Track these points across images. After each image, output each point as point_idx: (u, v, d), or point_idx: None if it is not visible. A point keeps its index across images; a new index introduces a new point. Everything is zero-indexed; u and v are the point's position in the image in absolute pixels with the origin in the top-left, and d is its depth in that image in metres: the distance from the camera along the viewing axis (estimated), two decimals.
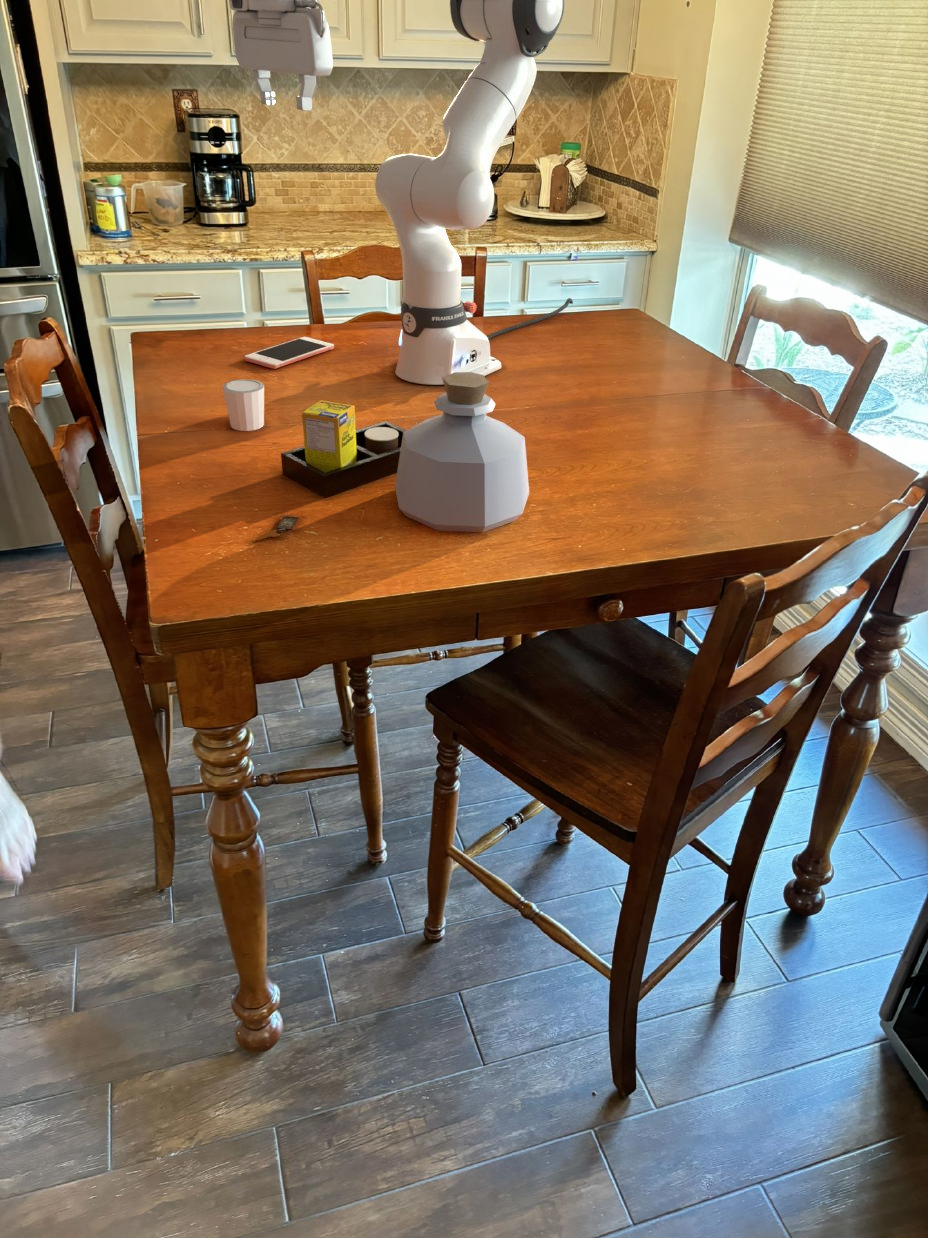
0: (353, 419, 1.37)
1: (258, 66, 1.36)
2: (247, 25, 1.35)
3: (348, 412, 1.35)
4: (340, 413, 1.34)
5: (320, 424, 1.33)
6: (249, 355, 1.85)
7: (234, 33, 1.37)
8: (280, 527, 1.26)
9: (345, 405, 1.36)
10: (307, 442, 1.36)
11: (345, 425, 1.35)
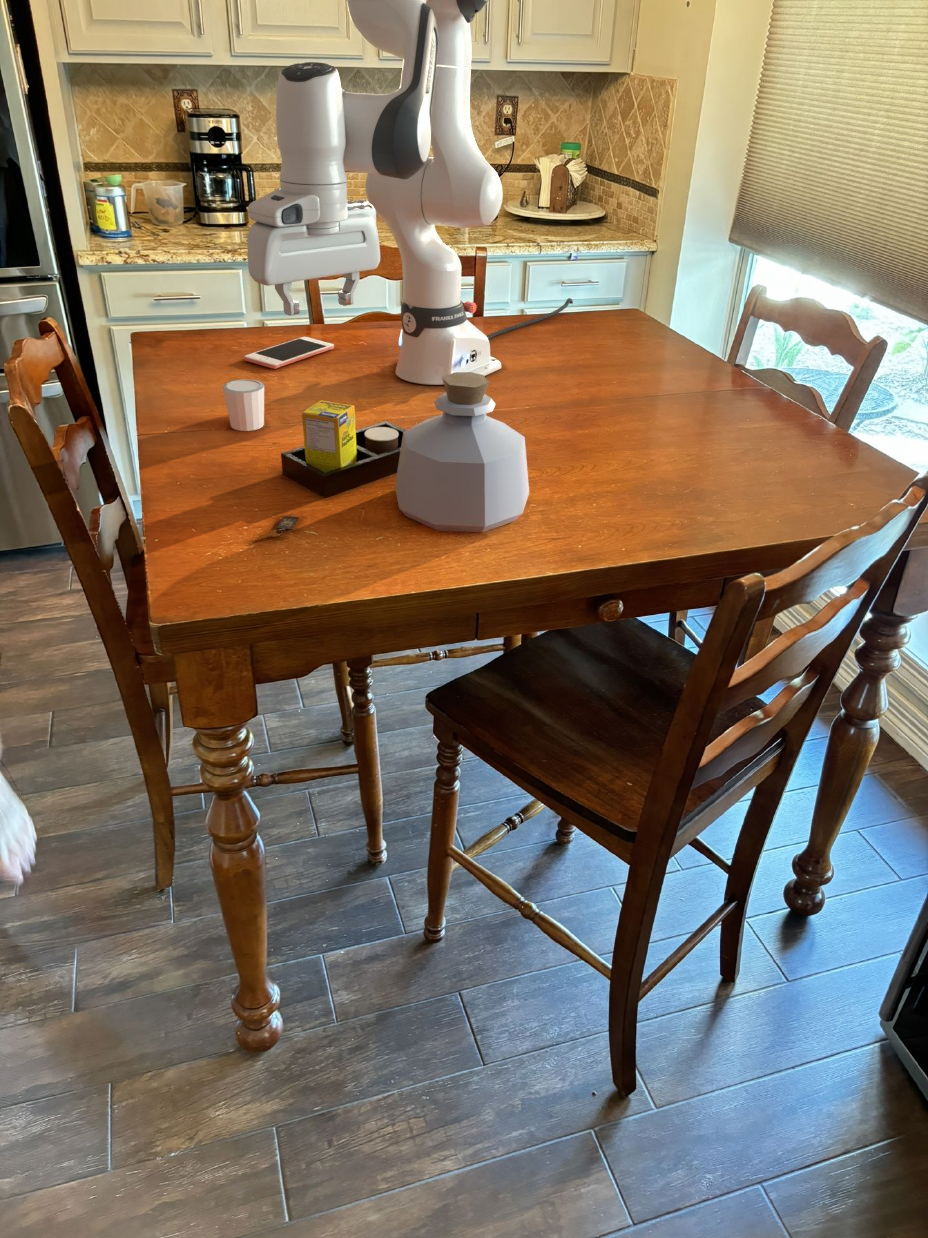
0: (353, 419, 1.37)
1: (301, 277, 1.24)
2: (286, 239, 1.20)
3: (348, 412, 1.35)
4: (340, 413, 1.34)
5: (320, 424, 1.33)
6: (249, 355, 1.85)
7: (270, 251, 1.18)
8: (280, 527, 1.26)
9: (345, 405, 1.36)
10: (307, 442, 1.36)
11: (345, 425, 1.35)
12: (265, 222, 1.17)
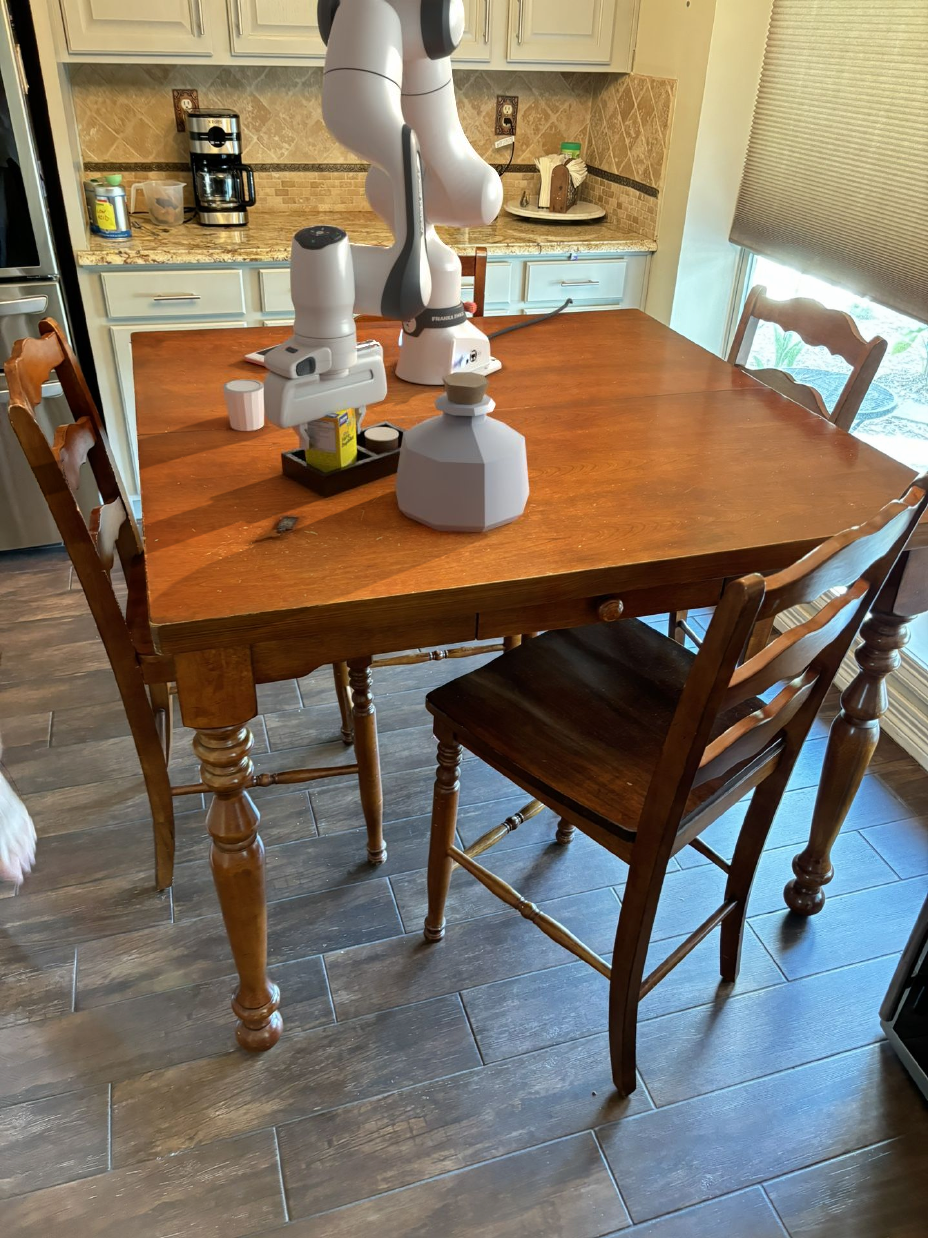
0: (353, 419, 1.37)
1: (314, 418, 1.32)
2: (300, 387, 1.28)
3: (349, 413, 1.35)
4: (340, 413, 1.34)
5: (320, 424, 1.33)
6: (249, 355, 1.85)
7: (285, 400, 1.26)
8: (280, 527, 1.26)
9: None
10: None
11: (345, 425, 1.35)
12: (280, 374, 1.25)
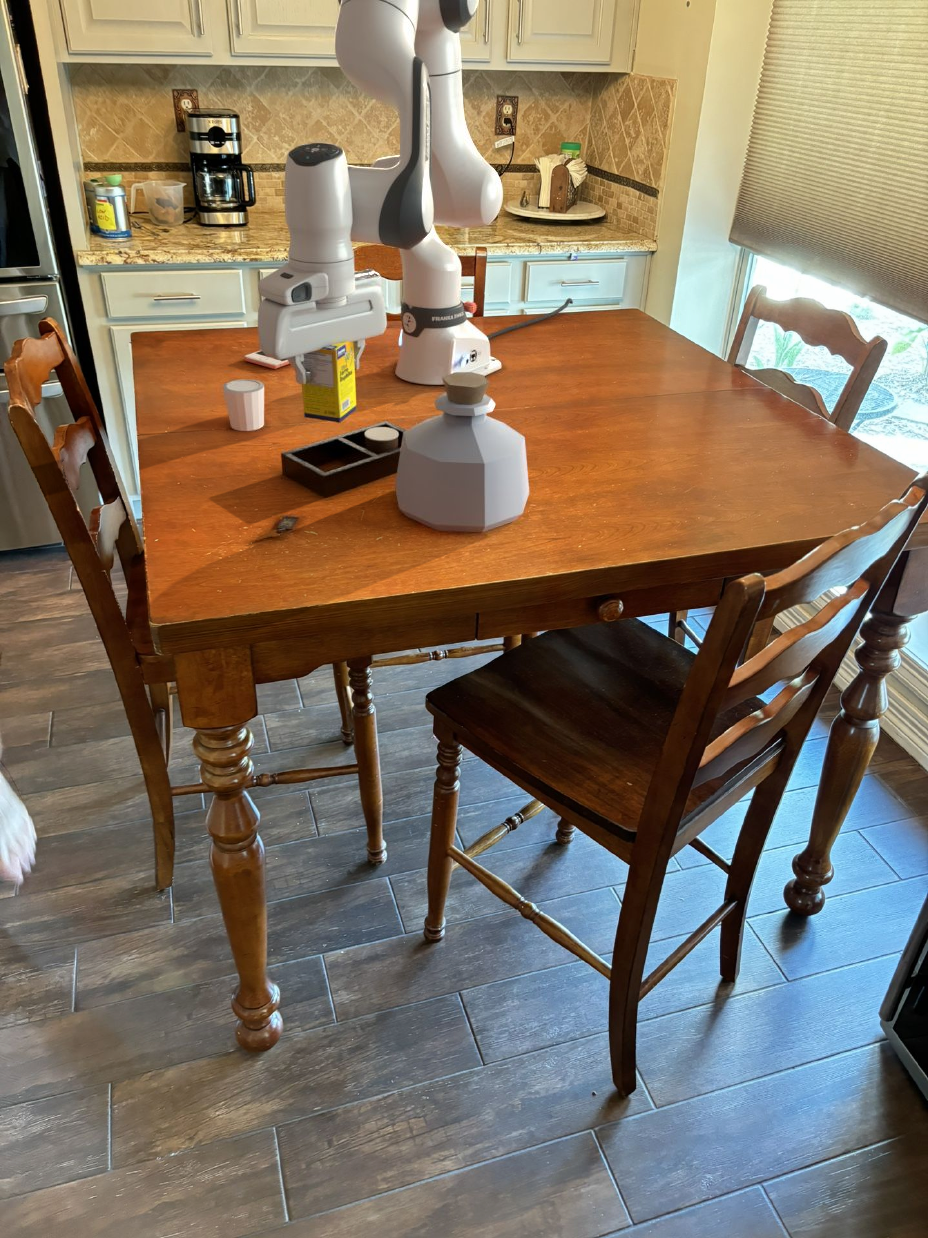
0: (352, 353, 1.32)
1: (311, 349, 1.26)
2: (296, 315, 1.22)
3: (347, 345, 1.30)
4: (338, 345, 1.28)
5: (317, 357, 1.28)
6: (249, 355, 1.85)
7: (280, 328, 1.21)
8: (280, 527, 1.26)
9: None
10: None
11: (343, 358, 1.30)
12: (275, 300, 1.20)
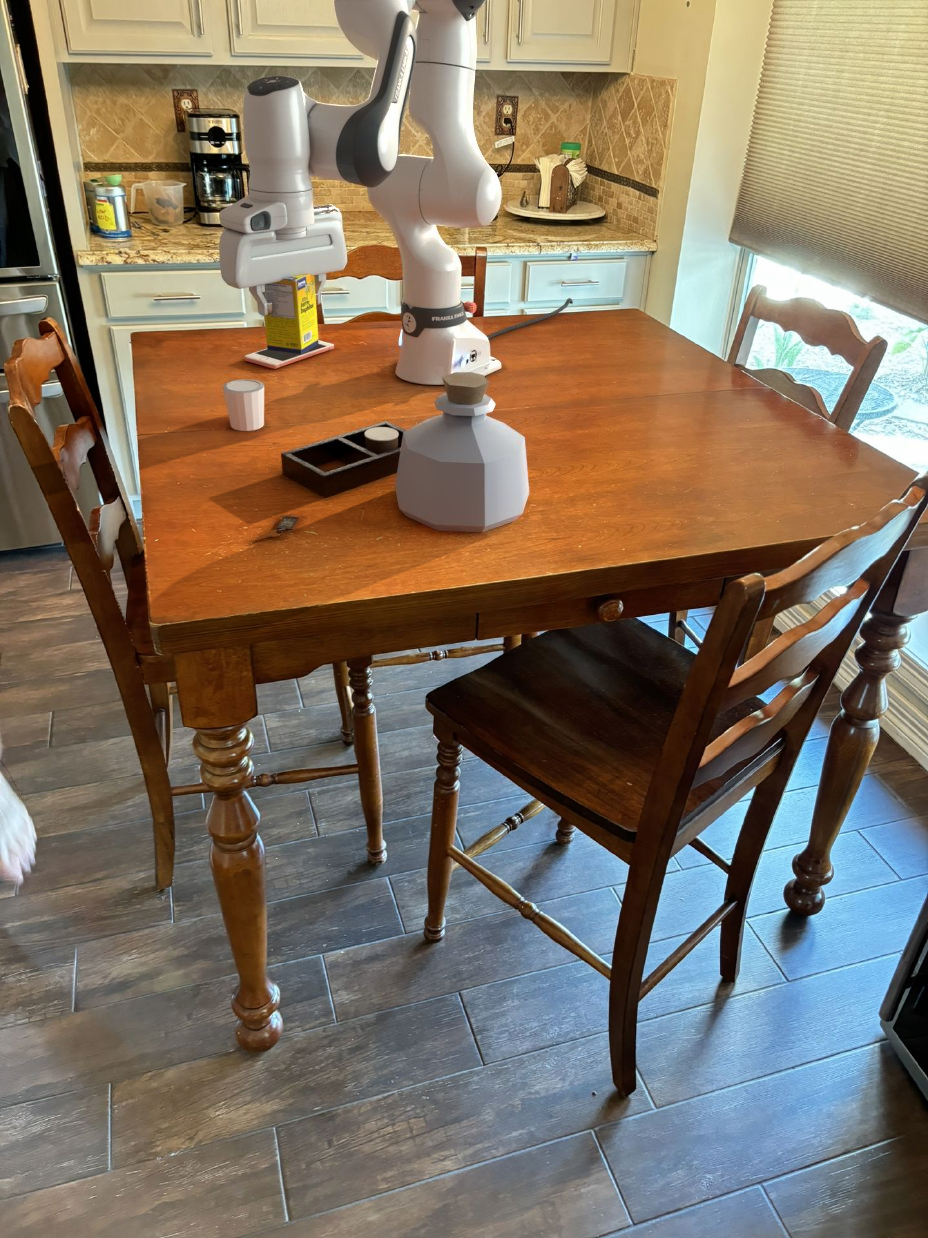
0: (313, 286, 1.36)
1: (271, 280, 1.31)
2: (256, 244, 1.26)
3: (307, 278, 1.34)
4: (298, 277, 1.32)
5: (278, 288, 1.32)
6: (249, 355, 1.85)
7: (240, 256, 1.25)
8: (280, 527, 1.26)
9: None
10: None
11: (304, 290, 1.34)
12: (235, 229, 1.24)
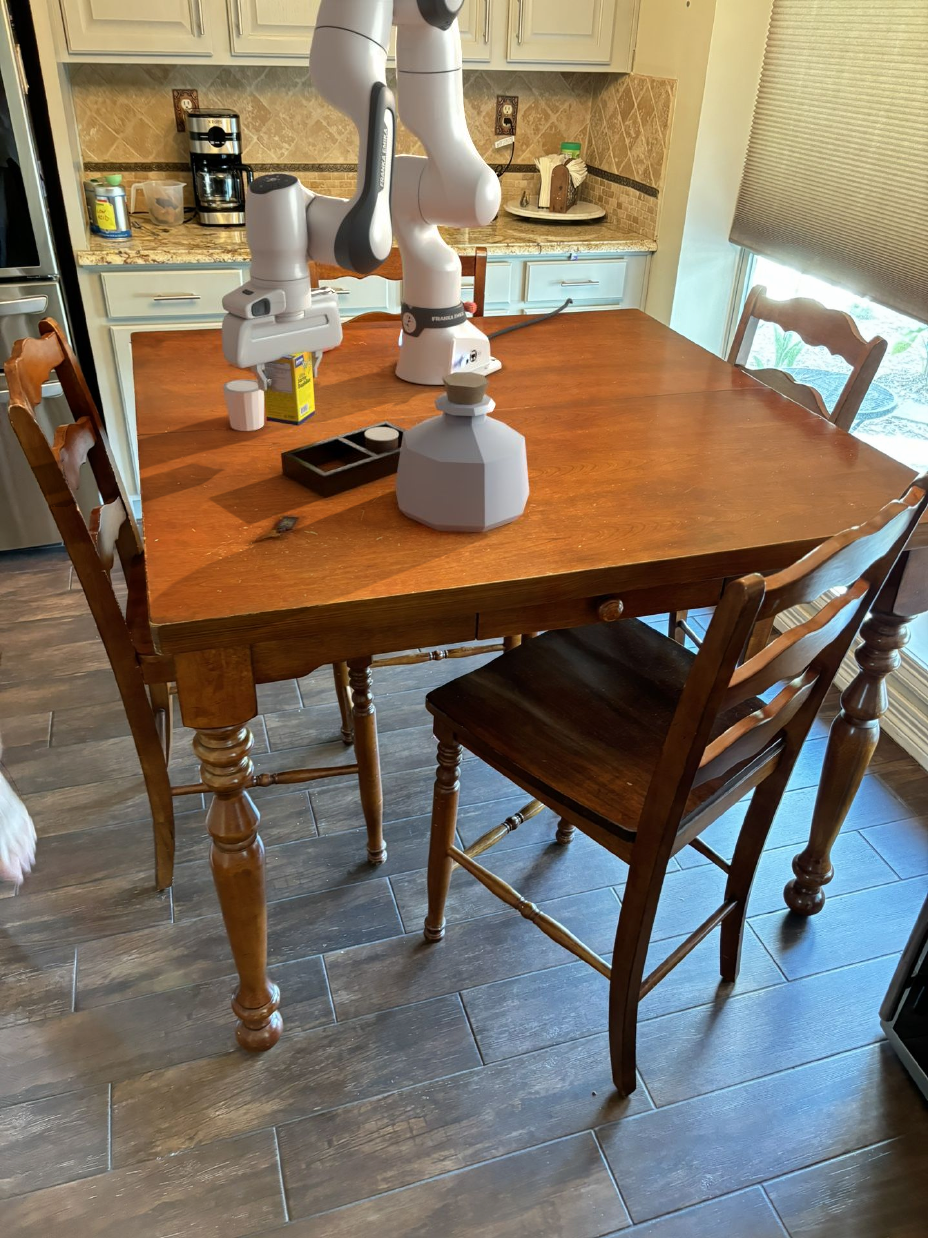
0: (310, 362, 1.44)
1: (271, 359, 1.39)
2: (256, 328, 1.35)
3: (305, 355, 1.42)
4: (296, 355, 1.41)
5: (277, 365, 1.41)
6: None
7: (242, 339, 1.33)
8: (280, 527, 1.26)
9: None
10: None
11: (301, 367, 1.42)
12: (237, 314, 1.32)
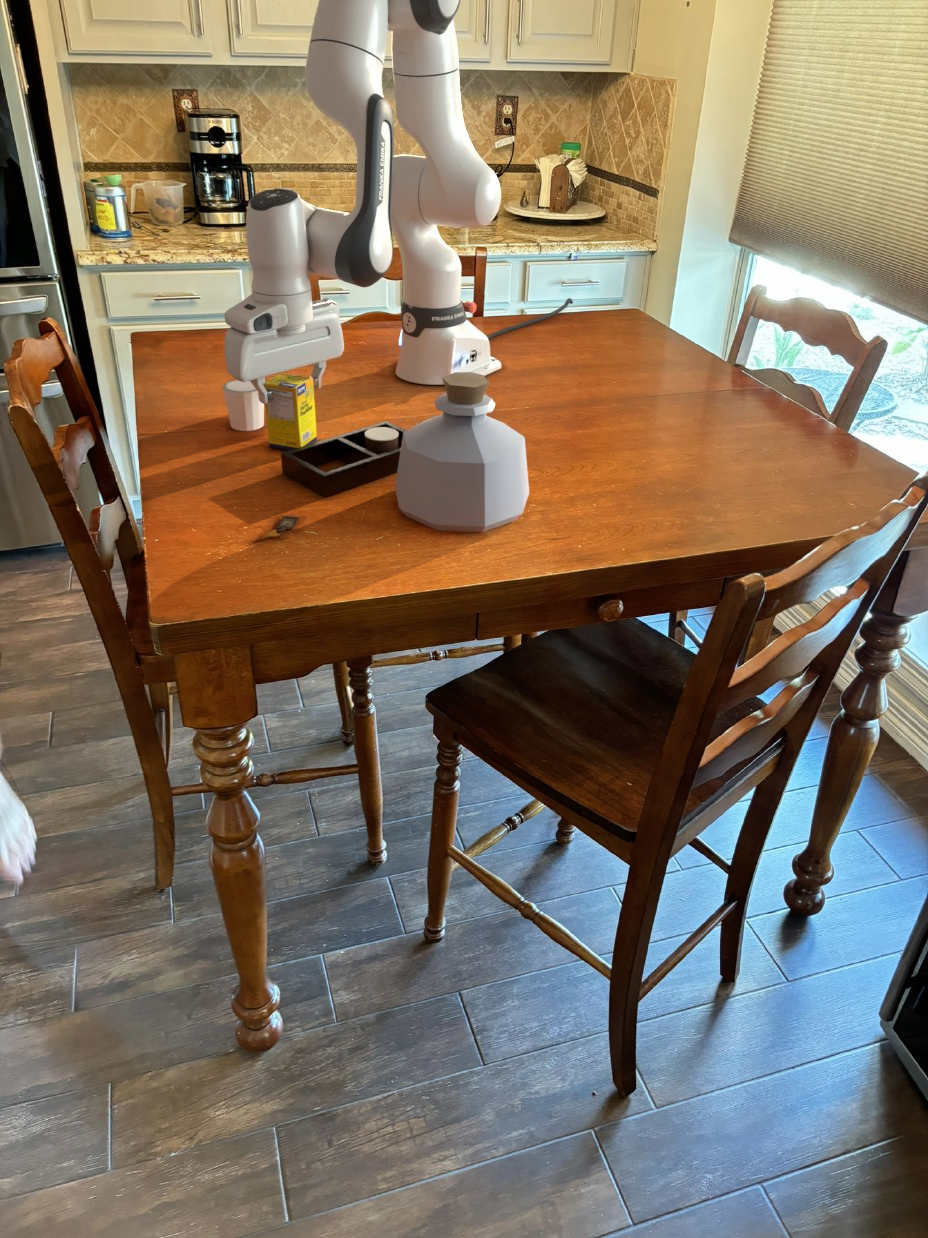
0: (312, 390, 1.47)
1: (273, 372, 1.40)
2: (258, 342, 1.36)
3: (307, 384, 1.45)
4: (298, 383, 1.43)
5: (279, 393, 1.43)
6: None
7: (244, 354, 1.35)
8: (280, 527, 1.26)
9: (304, 377, 1.46)
10: (268, 411, 1.46)
11: (303, 395, 1.45)
12: (239, 329, 1.34)
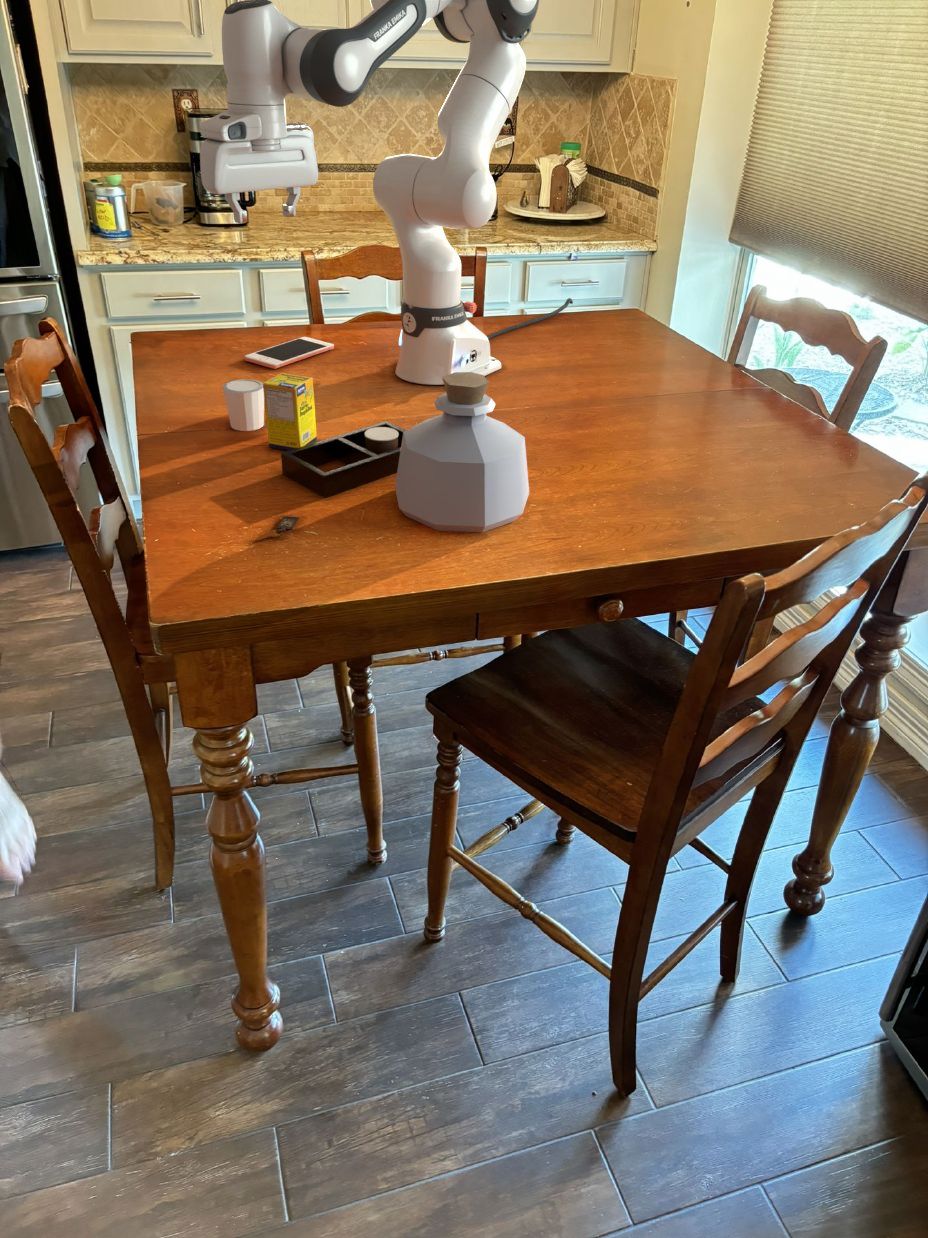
0: (311, 390, 1.47)
1: (248, 188, 1.44)
2: (233, 153, 1.40)
3: (306, 384, 1.45)
4: (298, 384, 1.43)
5: (279, 394, 1.43)
6: (249, 355, 1.85)
7: (219, 163, 1.38)
8: (280, 527, 1.26)
9: (304, 377, 1.46)
10: (268, 411, 1.46)
11: (303, 395, 1.45)
12: (214, 137, 1.37)
